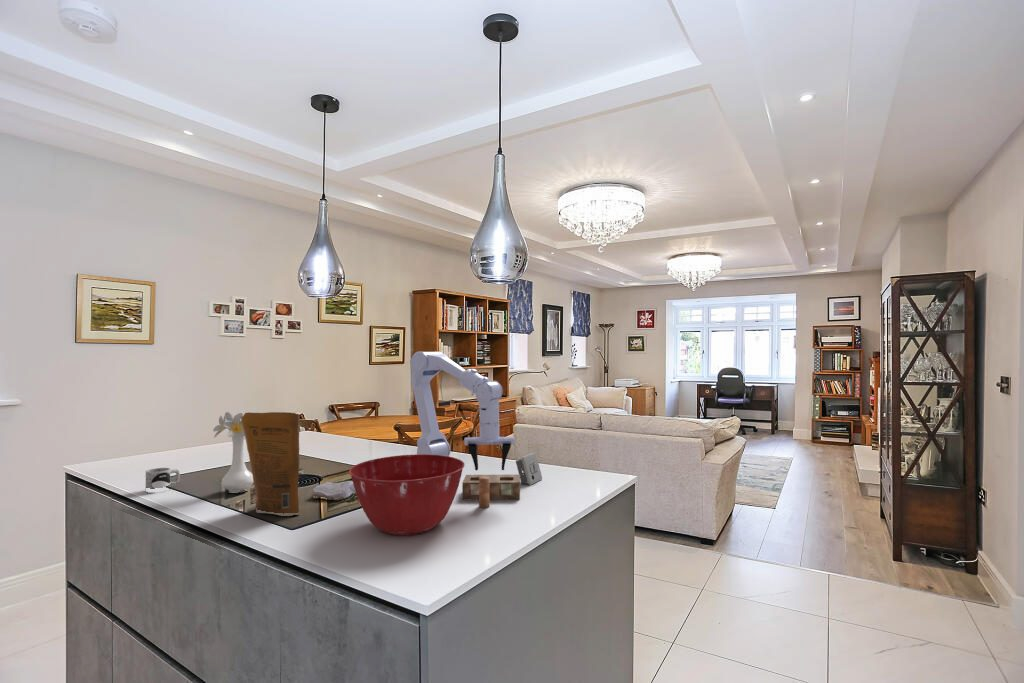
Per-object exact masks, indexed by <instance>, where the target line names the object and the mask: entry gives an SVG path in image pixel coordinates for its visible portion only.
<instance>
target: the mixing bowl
mask: <svg viewBox="0 0 1024 683" xmlns="http://www.w3.org/2000/svg"><path fill="white" fill-rule="evenodd" d="M464 467H465V462H464V461H463V460H461V459H459V458H456V457H453V456H450V455H449V456H442V455H428V454H417V453H416V454H402V455H393V456H385V457H380V458H379V457H378V458H373V459H370V460H366V461H363V462H359V463H357V464H355V465H353V466H351V467H350V468H349V470H348V473H349V475H350V477H351V481H353V485H354V488H355V491H356V494H355V495H356V496H357V500H358V501H359V504H360V506H361V508H362V509H363V512H364V514H365V515H366V517H367V519H368V521H369V522H370V523H371V524H372V525H373V526H374V527H375V528H377V529H378V530H381V531H382V532H383V531H384V532H383V533H385V534H387V533H388V534H389V535H391V534H392V535H391V536H412V535H420V534H424V533H427V532H429V531H431V530H433V529H434V528H435V527H436V526H438V525H439V524H440V523H441V522H443V520H444V519H445V518H446V516H447V514H448V513H449V511H450V509H451V507H452V504H453V502H454V499H455V498H456V497H455V496H456V495H457V492H458V489H459V485H460V481H461V477H462V474H463V473H462V472H463V469H464ZM423 532H424V533H423ZM419 533H420V534H419Z"/></svg>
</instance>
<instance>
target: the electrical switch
mask: <svg viewBox="0 0 1024 683" xmlns="http://www.w3.org/2000/svg"><path fill="white" fill-rule="evenodd" d="M515 465H516V468H517V471H518V475H520V485H523V484H527V485H528V486H532V485H533V484H536V483H538V482H539V481H541V480H543V475H542V471H541V467H540V462H539V460H538V457H537V454H536V452H531V453H529V454H527V455H523V456H521V458H520V459H517V460H515Z"/></svg>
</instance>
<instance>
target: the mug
mask: <svg viewBox="0 0 1024 683" xmlns="http://www.w3.org/2000/svg"><path fill="white" fill-rule="evenodd" d="M174 473H175V475H176V476H175V477H176V478H175V481H171V475H172V474H174ZM180 478H181V475H180V470H179V469H178V468H177V469H176V468H175V469H171V468H170V467H158V468H157V467H156V468H150V469H147V470H146V471H145V489H146V488H150V489H155V488H163V487H166V486H168V485H170V484H171V483H176V482H179V483H180V480H181V479H180Z"/></svg>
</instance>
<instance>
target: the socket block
mask: <svg viewBox="0 0 1024 683" xmlns="http://www.w3.org/2000/svg"><path fill="white" fill-rule="evenodd" d="M480 477H489V494H490V500H520V499H521V480H520V475H519V474H465V477H464V479H463V480H462V486H461V487H462V489H461V490H462V491H461V492H462V493H461V494H462V500H463V499H479V478H480Z"/></svg>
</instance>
